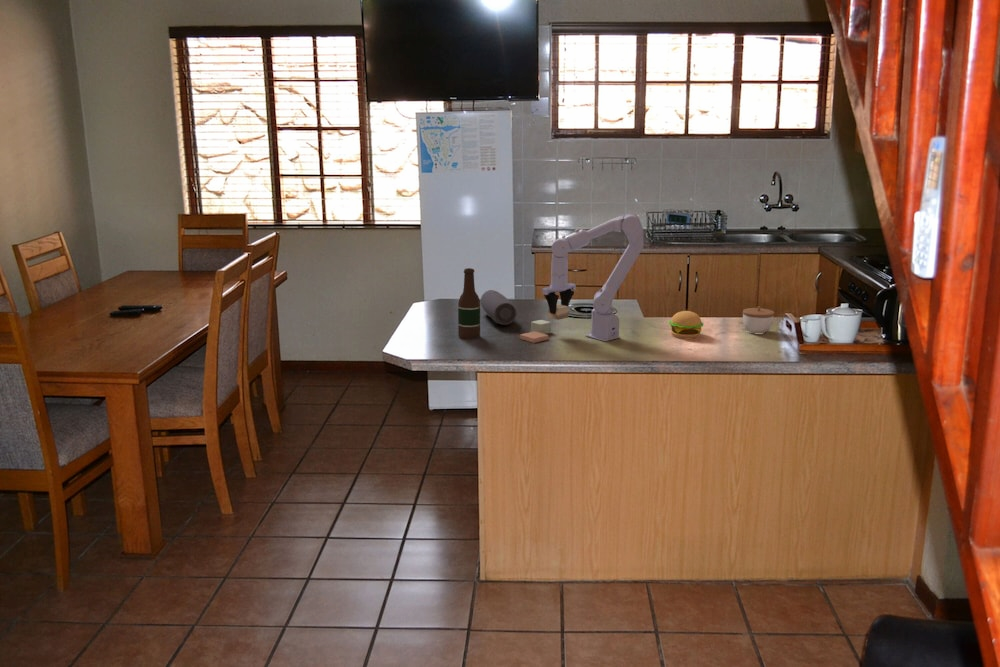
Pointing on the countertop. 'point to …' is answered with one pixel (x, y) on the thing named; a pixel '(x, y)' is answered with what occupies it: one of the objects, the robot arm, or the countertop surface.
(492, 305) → the bluetooth speaker
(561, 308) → the maple block
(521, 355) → the countertop surface
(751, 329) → the lidded jar
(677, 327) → the hamburger
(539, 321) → the sage block
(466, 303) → the beer bottle
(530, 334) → the plinth
